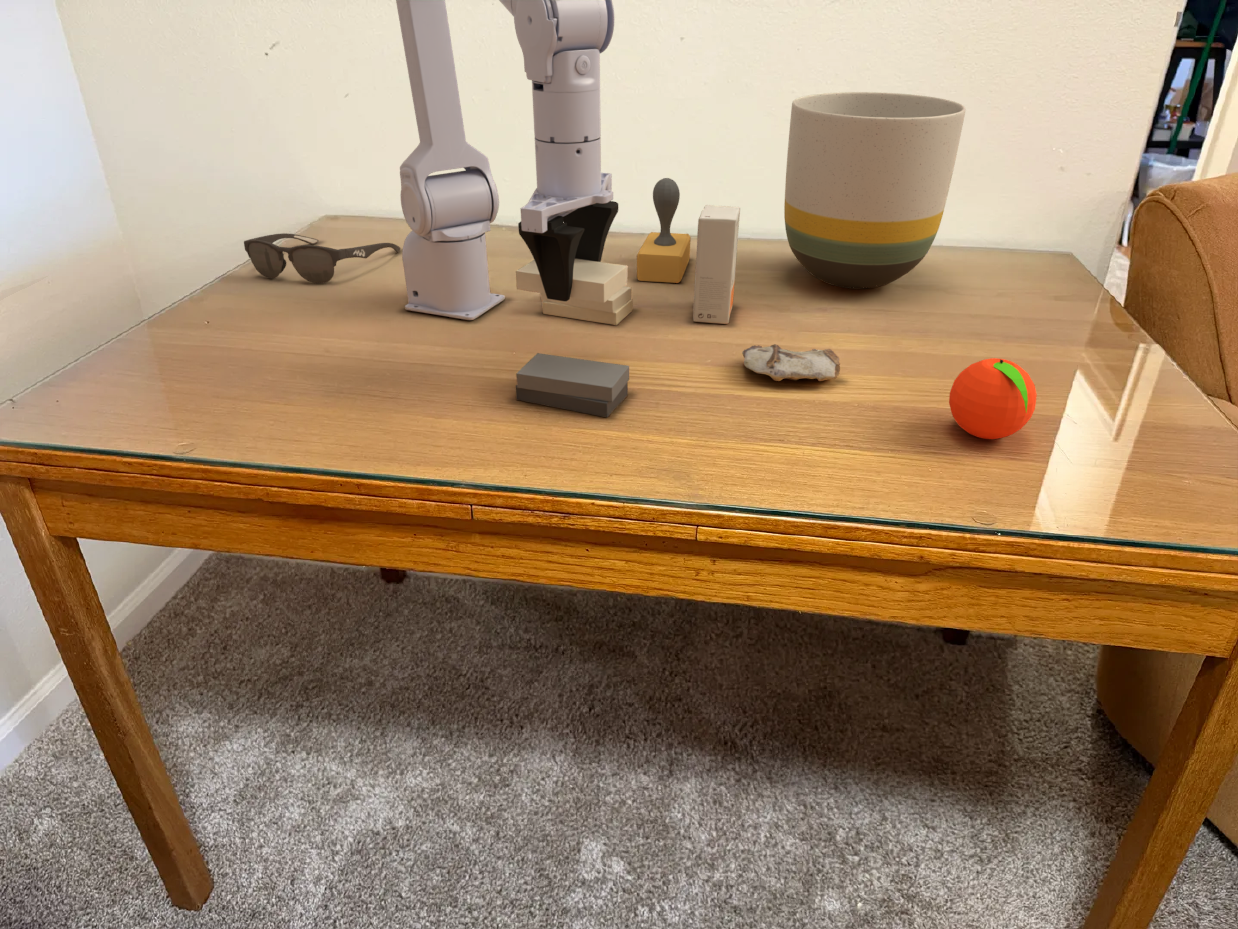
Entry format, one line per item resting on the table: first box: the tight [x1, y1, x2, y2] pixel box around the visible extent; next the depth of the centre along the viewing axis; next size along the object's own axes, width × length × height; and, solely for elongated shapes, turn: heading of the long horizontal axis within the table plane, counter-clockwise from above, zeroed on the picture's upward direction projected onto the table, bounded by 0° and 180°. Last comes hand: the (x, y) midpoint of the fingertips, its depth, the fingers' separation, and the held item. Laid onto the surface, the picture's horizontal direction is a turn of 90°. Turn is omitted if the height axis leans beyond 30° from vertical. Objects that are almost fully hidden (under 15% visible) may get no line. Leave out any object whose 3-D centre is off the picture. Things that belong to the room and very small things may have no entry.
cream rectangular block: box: [515, 259, 628, 303], centre depth 80 cm, size 9×6×2 cm, turn 67°
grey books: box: [515, 352, 630, 418], centre depth 80 cm, size 10×6×3 cm, turn 67°
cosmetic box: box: [692, 204, 741, 325], centre depth 97 cm, size 6×4×12 cm
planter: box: [783, 91, 967, 290], centre depth 104 cm, size 20×20×21 cm
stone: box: [741, 343, 841, 382], centre depth 85 cm, size 10×7×3 cm
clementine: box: [948, 357, 1038, 440], centre depth 72 cm, size 8×7×7 cm
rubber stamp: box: [636, 177, 692, 284], centre depth 110 cm, size 10×6×12 cm, turn 169°
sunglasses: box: [243, 232, 401, 284], centre depth 115 cm, size 16×17×5 cm
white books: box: [539, 285, 634, 326], centre depth 100 cm, size 10×6×3 cm, turn 67°
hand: (572, 288), depth 80 cm, fingers closed on cream rectangular block, 5 cm apart
